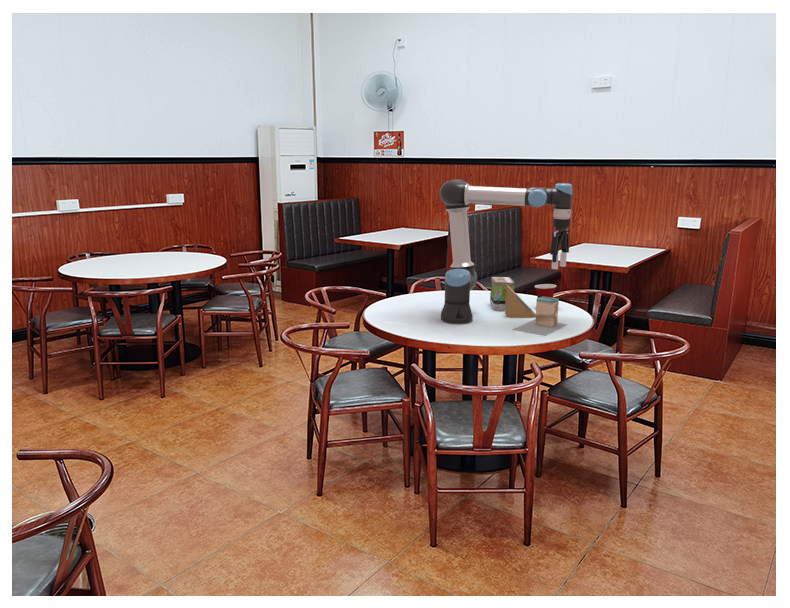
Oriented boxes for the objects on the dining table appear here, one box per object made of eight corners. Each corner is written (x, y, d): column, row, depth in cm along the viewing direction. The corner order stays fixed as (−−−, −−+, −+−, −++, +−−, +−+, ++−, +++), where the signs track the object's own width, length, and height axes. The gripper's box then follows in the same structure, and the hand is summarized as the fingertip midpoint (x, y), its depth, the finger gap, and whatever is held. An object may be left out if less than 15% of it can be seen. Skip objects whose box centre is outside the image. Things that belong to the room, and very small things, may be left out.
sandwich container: (539, 318, 296) (541, 288, 292) (507, 318, 296) (508, 287, 293) (536, 314, 304) (537, 284, 300) (504, 314, 304) (506, 284, 301)
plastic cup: (536, 304, 323) (537, 282, 320) (557, 307, 318) (558, 284, 316) (530, 309, 313) (532, 286, 311) (552, 311, 309) (553, 288, 306)
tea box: (513, 311, 310) (514, 282, 307) (493, 310, 310) (494, 281, 307) (508, 304, 325) (510, 276, 321) (489, 303, 325) (490, 276, 321)
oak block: (551, 327, 279) (553, 301, 276) (535, 324, 284) (536, 298, 281) (557, 324, 284) (558, 298, 281) (540, 321, 288) (542, 296, 286)
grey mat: (545, 336, 265) (545, 335, 265) (511, 330, 275) (511, 329, 275) (568, 325, 284) (568, 324, 284) (535, 319, 293) (535, 318, 293)
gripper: (560, 220, 270) (556, 271, 275) (579, 217, 286) (575, 265, 292) (544, 219, 275) (541, 269, 280) (563, 216, 291) (560, 263, 296)
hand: (558, 267), depth 286 cm, fingers open, 8 cm apart
